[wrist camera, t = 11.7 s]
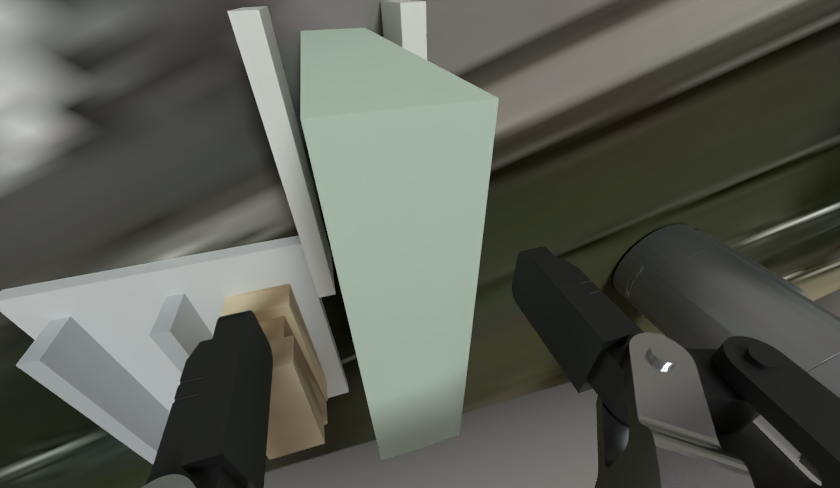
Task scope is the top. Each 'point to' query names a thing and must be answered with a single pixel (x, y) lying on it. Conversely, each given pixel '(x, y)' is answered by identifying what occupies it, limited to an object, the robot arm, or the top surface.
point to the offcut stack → (288, 370)
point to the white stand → (280, 123)
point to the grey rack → (152, 330)
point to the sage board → (400, 220)
